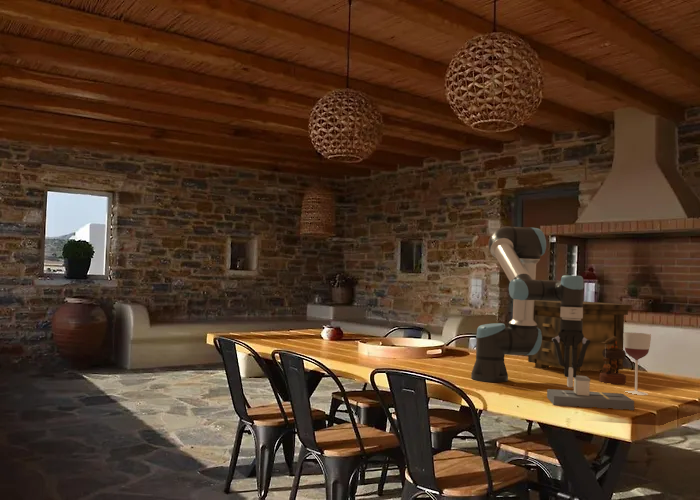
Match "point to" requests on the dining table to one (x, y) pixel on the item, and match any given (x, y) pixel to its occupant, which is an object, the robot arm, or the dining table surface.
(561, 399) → the fader console
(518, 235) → the robot arm
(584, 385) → the fader tab
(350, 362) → the dining table surface
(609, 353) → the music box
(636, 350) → the wineglass
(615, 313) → the wooden cabinet
